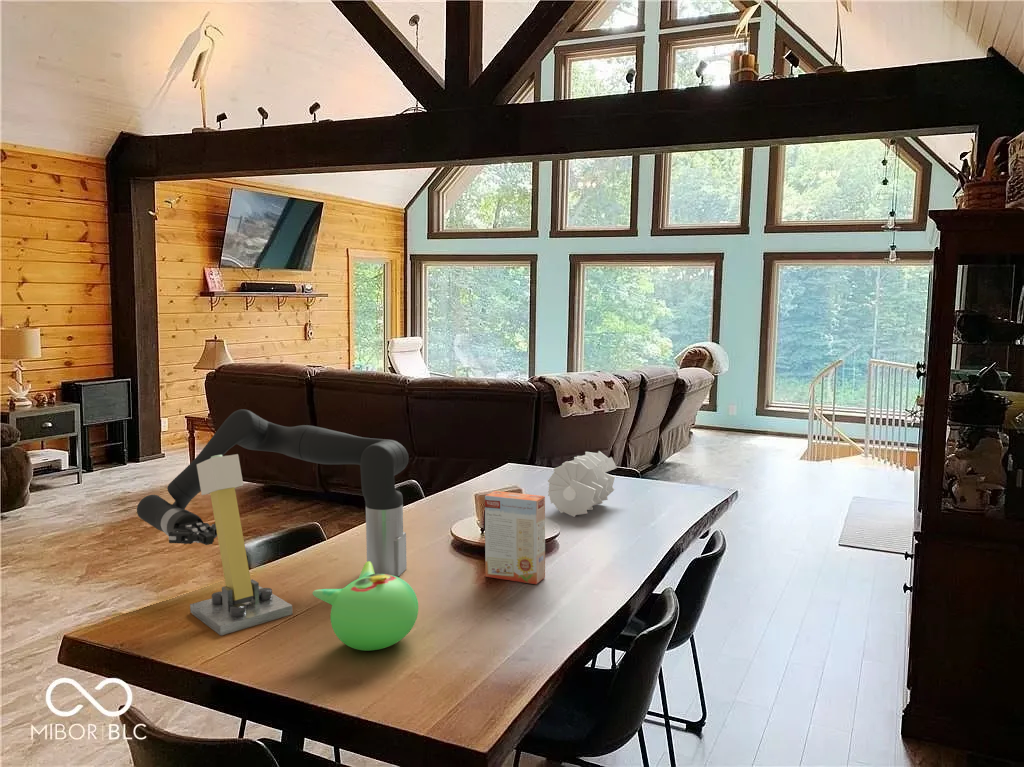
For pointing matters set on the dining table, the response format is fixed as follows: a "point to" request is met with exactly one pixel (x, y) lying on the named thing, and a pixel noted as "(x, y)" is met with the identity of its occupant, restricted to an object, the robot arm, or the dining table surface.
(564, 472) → the spiral staircase
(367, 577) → the green horned blob
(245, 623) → the tripod base plate
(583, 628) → the dining table surface
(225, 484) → the post
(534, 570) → the cracker box
